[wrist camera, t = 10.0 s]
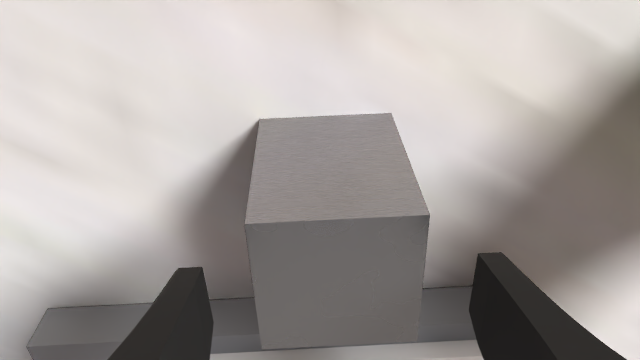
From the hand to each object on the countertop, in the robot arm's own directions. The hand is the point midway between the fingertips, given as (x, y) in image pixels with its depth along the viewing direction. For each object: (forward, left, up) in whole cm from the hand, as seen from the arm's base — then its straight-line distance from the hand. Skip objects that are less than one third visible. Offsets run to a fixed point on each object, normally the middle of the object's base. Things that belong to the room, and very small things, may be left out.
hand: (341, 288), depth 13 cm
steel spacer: (0, 0, -6) cm, 6 cm away
